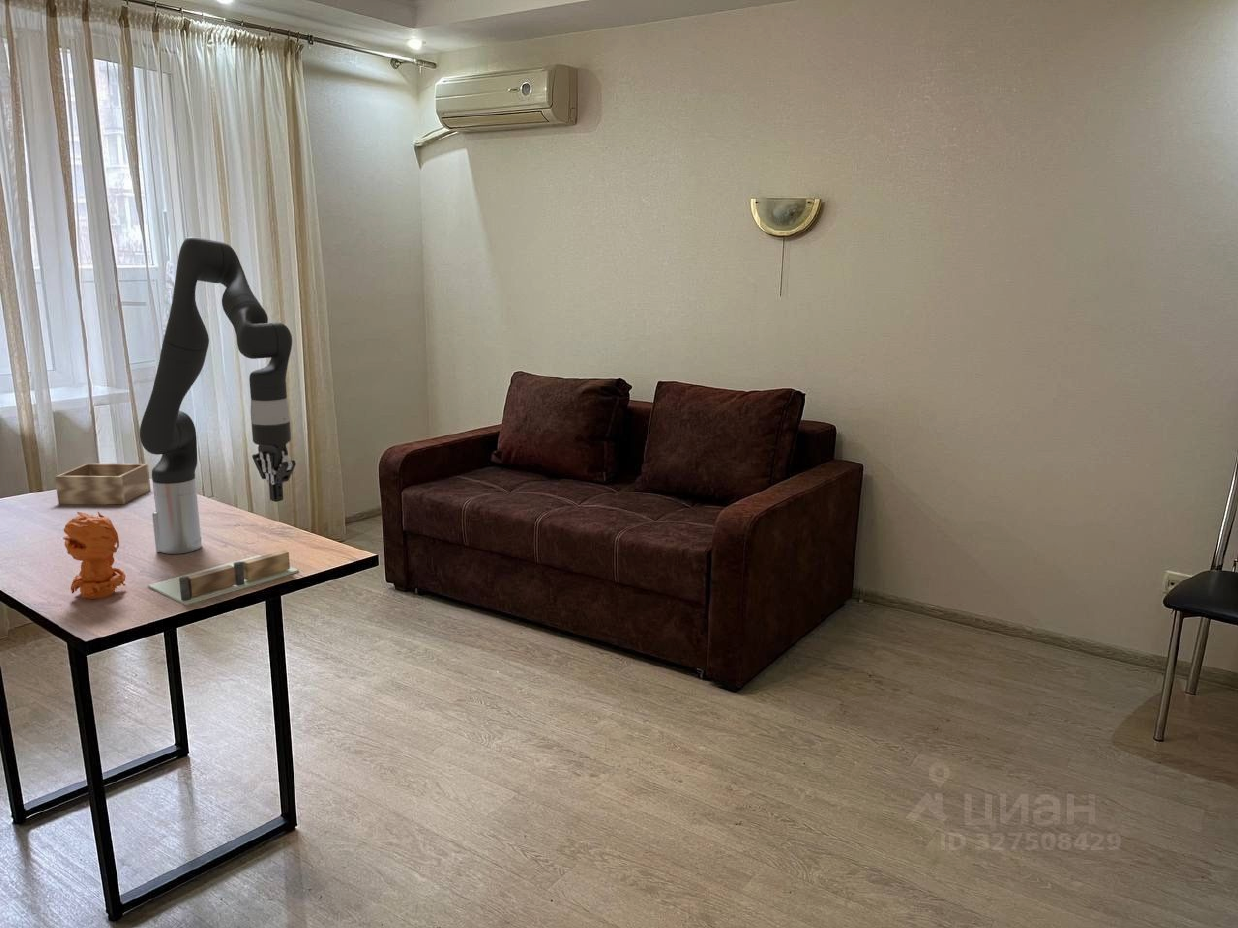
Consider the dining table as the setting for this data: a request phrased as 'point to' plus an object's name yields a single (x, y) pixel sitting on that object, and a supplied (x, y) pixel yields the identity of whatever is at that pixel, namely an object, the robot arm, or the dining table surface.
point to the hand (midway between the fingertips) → (276, 500)
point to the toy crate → (102, 483)
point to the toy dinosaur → (93, 555)
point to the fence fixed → (211, 580)
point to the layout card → (173, 591)
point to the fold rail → (266, 565)
